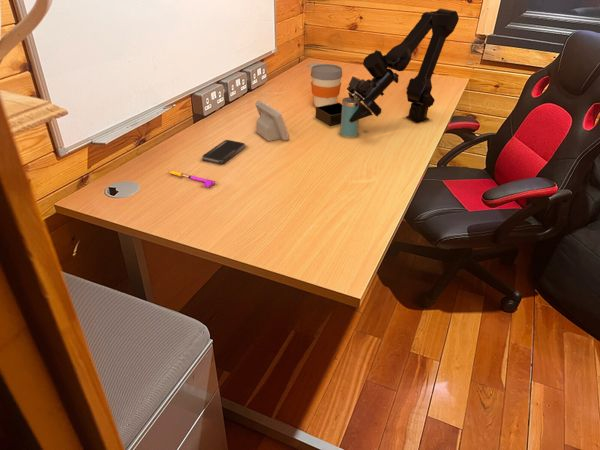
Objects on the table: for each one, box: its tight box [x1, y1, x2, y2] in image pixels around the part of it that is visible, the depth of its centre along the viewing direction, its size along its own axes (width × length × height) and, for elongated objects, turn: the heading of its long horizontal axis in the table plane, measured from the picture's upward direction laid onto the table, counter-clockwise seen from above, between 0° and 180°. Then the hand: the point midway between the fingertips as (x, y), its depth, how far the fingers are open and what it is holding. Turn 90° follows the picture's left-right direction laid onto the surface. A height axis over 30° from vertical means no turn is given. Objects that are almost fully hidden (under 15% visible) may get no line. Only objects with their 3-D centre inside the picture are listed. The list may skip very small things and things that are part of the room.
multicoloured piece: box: [169, 170, 216, 189], centre depth 137 cm, size 3×1×16 cm
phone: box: [202, 139, 246, 165], centre depth 152 cm, size 8×1×15 cm
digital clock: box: [255, 100, 290, 142], centre depth 163 cm, size 16×9×11 cm, turn 20°
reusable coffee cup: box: [310, 63, 343, 108], centre depth 188 cm, size 13×13×15 cm
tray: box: [315, 102, 342, 127], centre depth 177 cm, size 11×10×4 cm
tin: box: [339, 96, 362, 138], centre depth 164 cm, size 6×6×12 cm
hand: (346, 118), depth 164 cm, fingers closed on tin, 6 cm apart
